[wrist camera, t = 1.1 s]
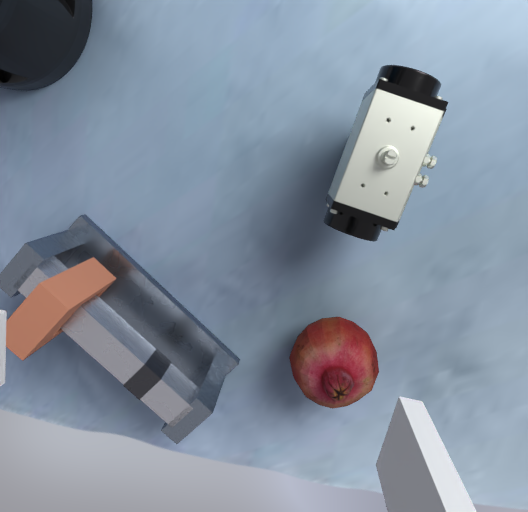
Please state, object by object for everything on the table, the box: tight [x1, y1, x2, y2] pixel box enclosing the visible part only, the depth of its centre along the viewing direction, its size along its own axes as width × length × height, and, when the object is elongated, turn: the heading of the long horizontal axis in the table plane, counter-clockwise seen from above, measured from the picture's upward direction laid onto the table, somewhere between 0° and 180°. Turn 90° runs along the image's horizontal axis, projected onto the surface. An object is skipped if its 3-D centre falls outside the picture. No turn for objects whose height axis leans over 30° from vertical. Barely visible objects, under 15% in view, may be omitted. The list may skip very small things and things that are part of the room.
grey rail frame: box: [0, 215, 240, 444], centre depth 40 cm, size 22×9×8 cm, turn 46°
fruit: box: [290, 317, 379, 408], centre depth 37 cm, size 8×8×10 cm
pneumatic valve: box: [324, 65, 448, 241], centre depth 32 cm, size 6×12×12 cm, turn 162°
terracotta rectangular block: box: [6, 257, 117, 361], centre depth 36 cm, size 3×6×8 cm, turn 136°
